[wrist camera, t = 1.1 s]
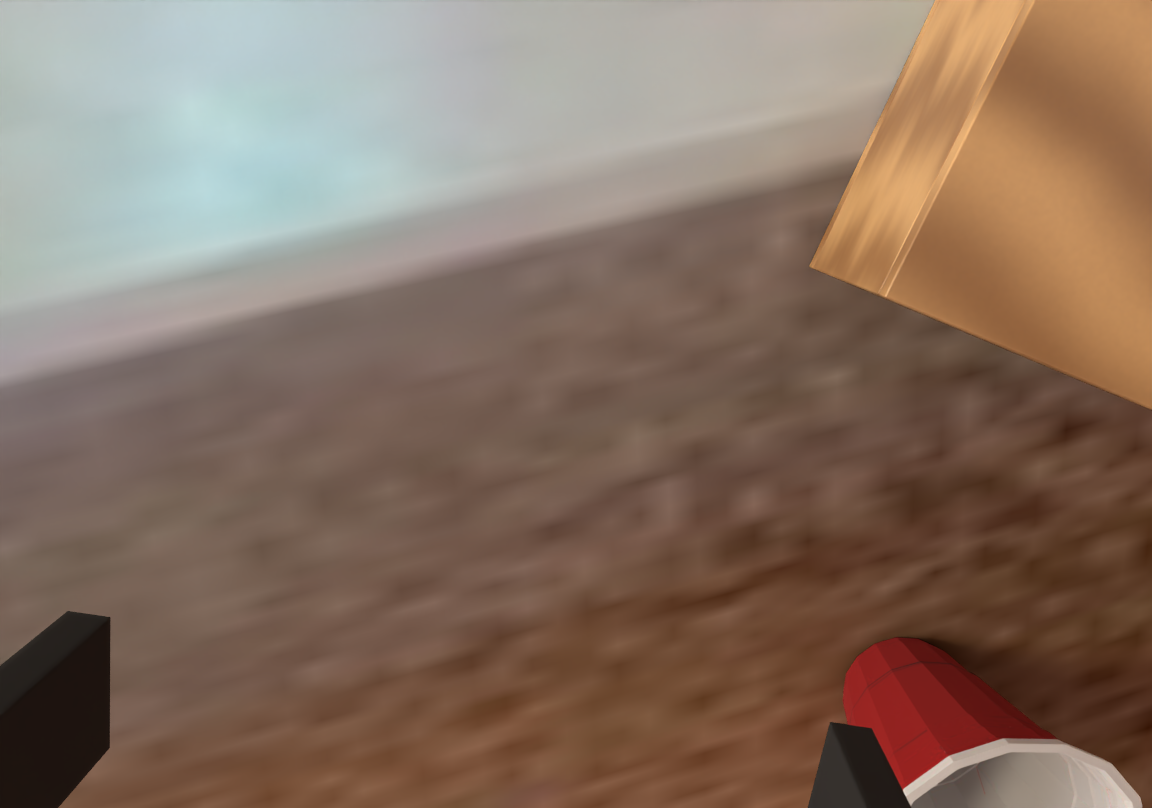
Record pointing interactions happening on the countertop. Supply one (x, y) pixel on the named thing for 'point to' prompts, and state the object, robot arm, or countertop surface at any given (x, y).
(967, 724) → the plastic cup
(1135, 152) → the cabinet
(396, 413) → the countertop surface
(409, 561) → the countertop surface
